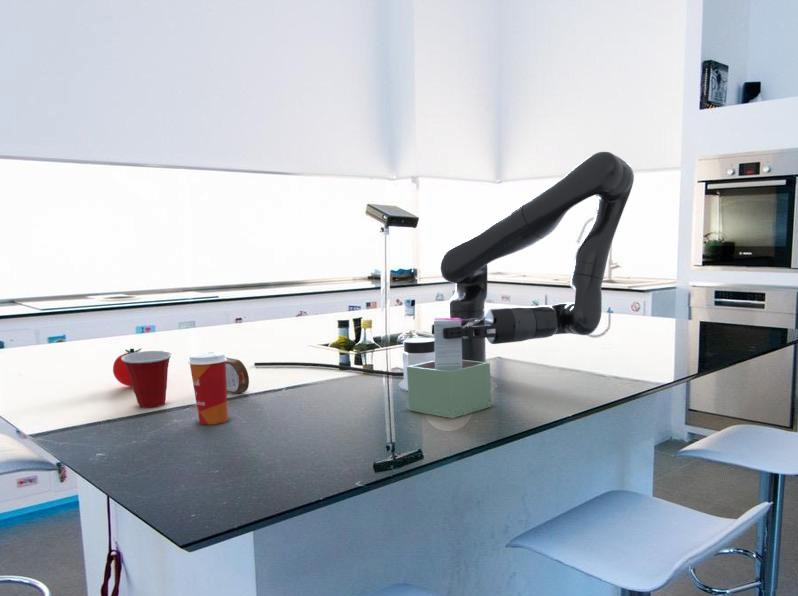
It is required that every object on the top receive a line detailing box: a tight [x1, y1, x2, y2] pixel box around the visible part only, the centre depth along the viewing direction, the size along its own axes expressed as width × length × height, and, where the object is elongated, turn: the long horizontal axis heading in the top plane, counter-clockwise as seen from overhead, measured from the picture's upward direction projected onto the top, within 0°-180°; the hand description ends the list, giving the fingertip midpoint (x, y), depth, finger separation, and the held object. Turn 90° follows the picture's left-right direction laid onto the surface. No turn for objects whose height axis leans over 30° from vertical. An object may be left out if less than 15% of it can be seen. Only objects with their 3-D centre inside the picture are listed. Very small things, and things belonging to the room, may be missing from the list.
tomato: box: [112, 347, 143, 387], centre depth 199 cm, size 10×10×10 cm
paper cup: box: [187, 351, 229, 425], centre depth 156 cm, size 8×8×14 cm
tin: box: [225, 356, 250, 395], centre depth 187 cm, size 15×3×8 cm, turn 47°
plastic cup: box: [121, 350, 172, 408], centre depth 174 cm, size 11×11×12 cm
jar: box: [402, 337, 435, 392], centre depth 180 cm, size 9×8×12 cm
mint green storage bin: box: [407, 360, 492, 419], centre depth 160 cm, size 12×12×10 cm
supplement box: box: [433, 317, 462, 371], centre depth 158 cm, size 6×6×12 cm
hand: (437, 331), depth 157 cm, fingers closed on supplement box, 7 cm apart
